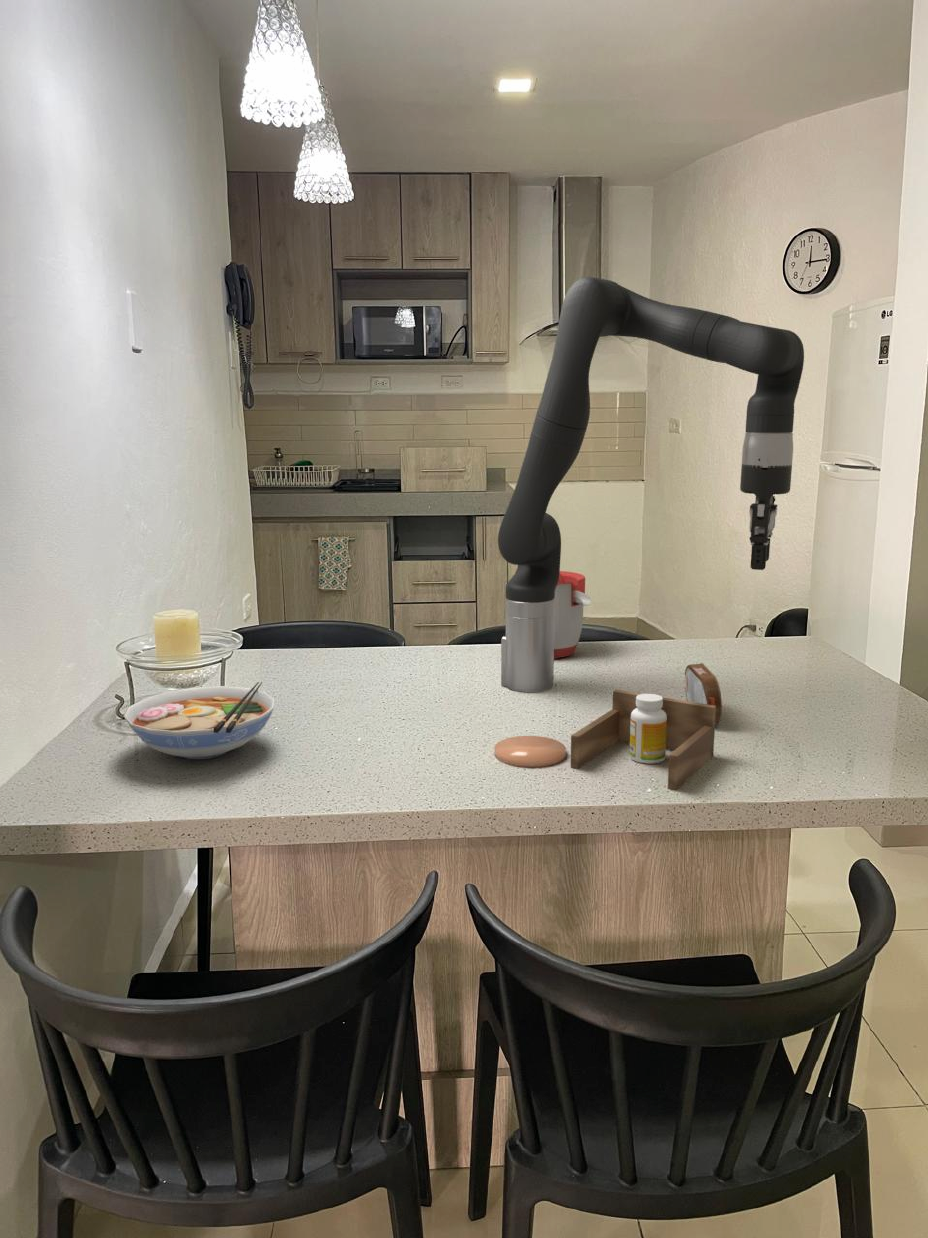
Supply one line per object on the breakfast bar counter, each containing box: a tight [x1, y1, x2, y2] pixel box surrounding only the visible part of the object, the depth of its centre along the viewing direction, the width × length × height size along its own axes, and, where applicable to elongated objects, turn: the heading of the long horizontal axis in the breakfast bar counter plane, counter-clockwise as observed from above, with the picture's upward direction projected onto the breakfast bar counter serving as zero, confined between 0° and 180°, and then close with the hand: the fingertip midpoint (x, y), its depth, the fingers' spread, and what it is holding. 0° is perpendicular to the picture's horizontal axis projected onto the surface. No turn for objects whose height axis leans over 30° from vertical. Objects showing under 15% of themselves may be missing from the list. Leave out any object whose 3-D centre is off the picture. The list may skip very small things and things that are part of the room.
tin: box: [684, 662, 723, 725], centre depth 164 cm, size 15×3×8 cm, turn 1°
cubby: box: [570, 688, 716, 791], centre depth 143 cm, size 16×16×8 cm
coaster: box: [494, 735, 567, 768], centre depth 147 cm, size 11×11×1 cm
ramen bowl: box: [123, 681, 275, 760], centre depth 148 cm, size 25×23×8 cm
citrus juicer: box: [511, 570, 592, 660], centre depth 204 cm, size 16×17×20 cm
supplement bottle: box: [629, 693, 667, 765], centre depth 144 cm, size 5×5×10 cm
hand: (759, 564), depth 151 cm, fingers open, 8 cm apart
